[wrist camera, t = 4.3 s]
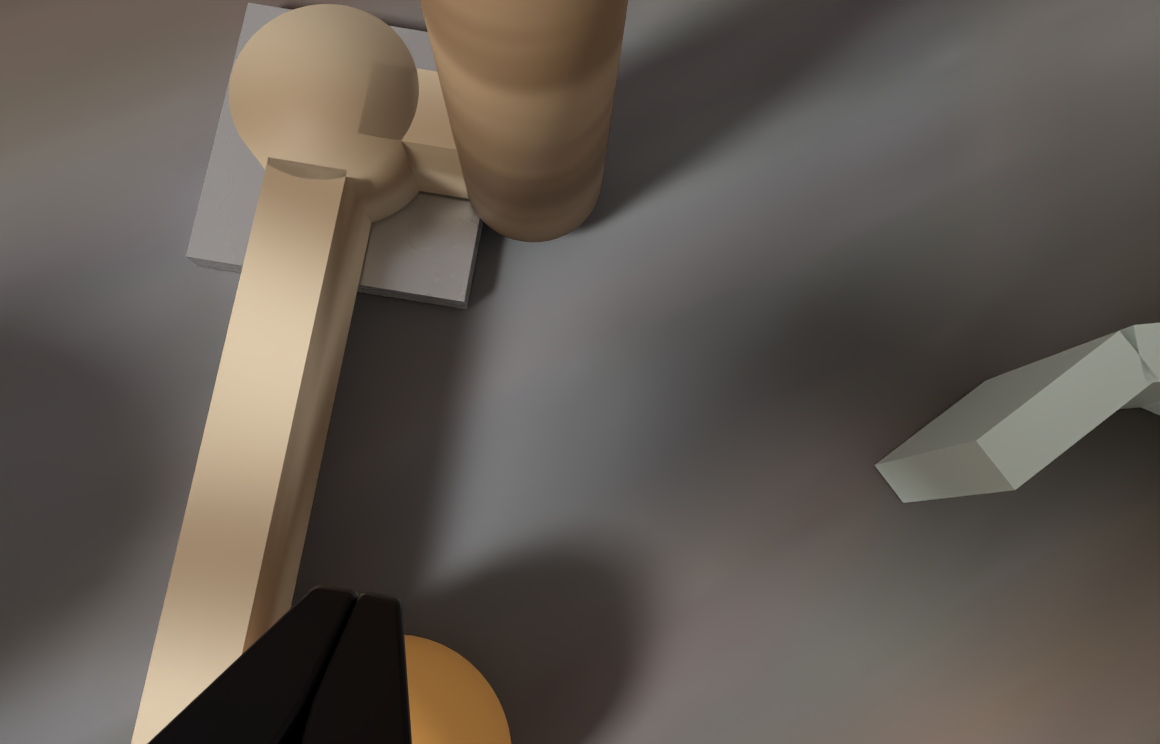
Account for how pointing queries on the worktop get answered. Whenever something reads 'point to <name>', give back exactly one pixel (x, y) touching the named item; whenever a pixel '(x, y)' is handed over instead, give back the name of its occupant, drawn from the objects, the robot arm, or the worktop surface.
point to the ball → (450, 698)
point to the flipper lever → (357, 260)
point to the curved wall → (1027, 418)
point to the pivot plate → (395, 244)
